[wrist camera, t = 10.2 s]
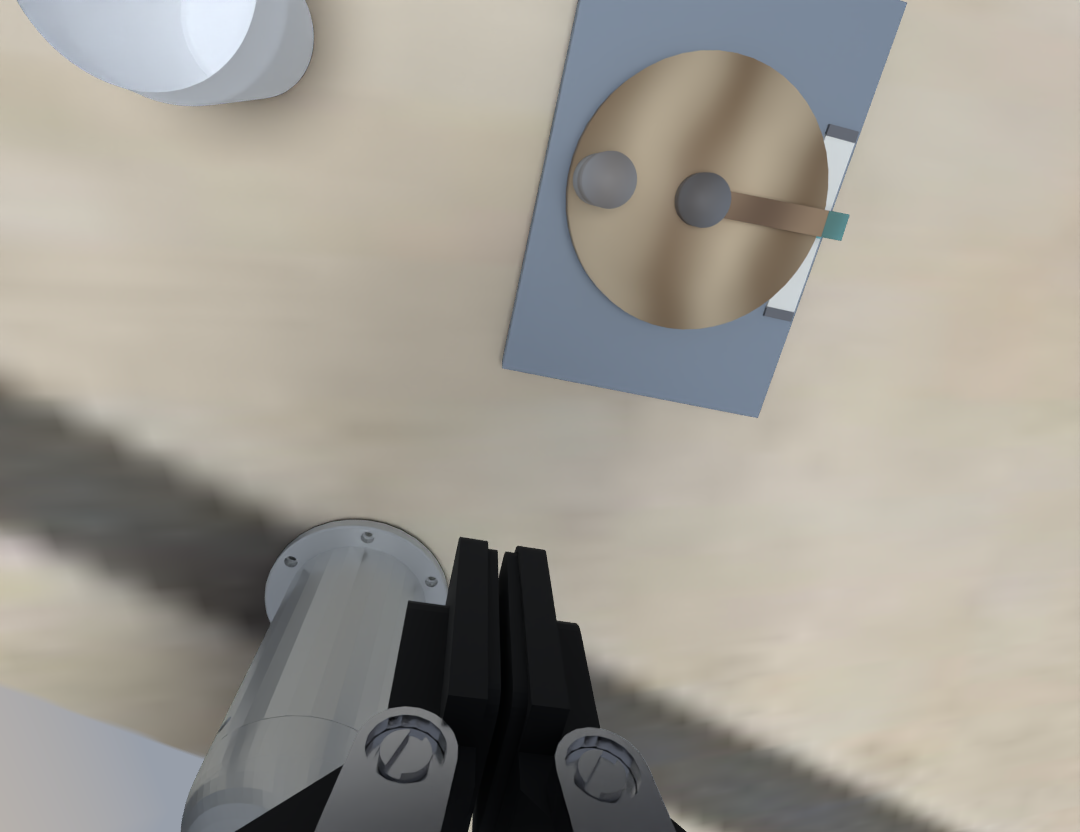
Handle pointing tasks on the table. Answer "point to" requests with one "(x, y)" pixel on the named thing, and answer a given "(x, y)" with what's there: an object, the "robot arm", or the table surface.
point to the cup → (182, 45)
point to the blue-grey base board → (588, 79)
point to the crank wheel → (699, 190)
